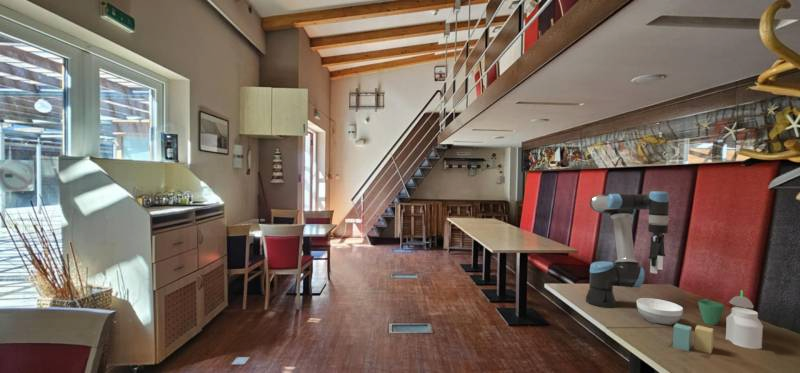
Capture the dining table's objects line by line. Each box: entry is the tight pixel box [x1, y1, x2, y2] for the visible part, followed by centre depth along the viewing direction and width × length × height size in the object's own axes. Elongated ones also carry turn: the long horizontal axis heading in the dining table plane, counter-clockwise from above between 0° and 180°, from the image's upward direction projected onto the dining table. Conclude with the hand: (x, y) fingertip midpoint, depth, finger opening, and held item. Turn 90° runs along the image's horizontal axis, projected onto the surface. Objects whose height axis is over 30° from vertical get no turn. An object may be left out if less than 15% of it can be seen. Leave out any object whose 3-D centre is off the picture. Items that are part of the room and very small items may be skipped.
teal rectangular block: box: [672, 322, 693, 351], centre depth 151 cm, size 5×5×9 cm
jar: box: [725, 307, 764, 350], centre depth 156 cm, size 12×10×15 cm
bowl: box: [636, 297, 684, 326], centre depth 181 cm, size 19×19×9 cm
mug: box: [697, 298, 725, 326], centre depth 182 cm, size 15×10×10 cm
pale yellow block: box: [694, 324, 714, 354], centre depth 150 cm, size 5×5×9 cm
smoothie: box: [728, 289, 754, 315], centre depth 169 cm, size 8×8×20 cm
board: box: [668, 340, 714, 359], centre depth 151 cm, size 13×12×1 cm
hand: (656, 271), depth 171 cm, fingers open, 10 cm apart
